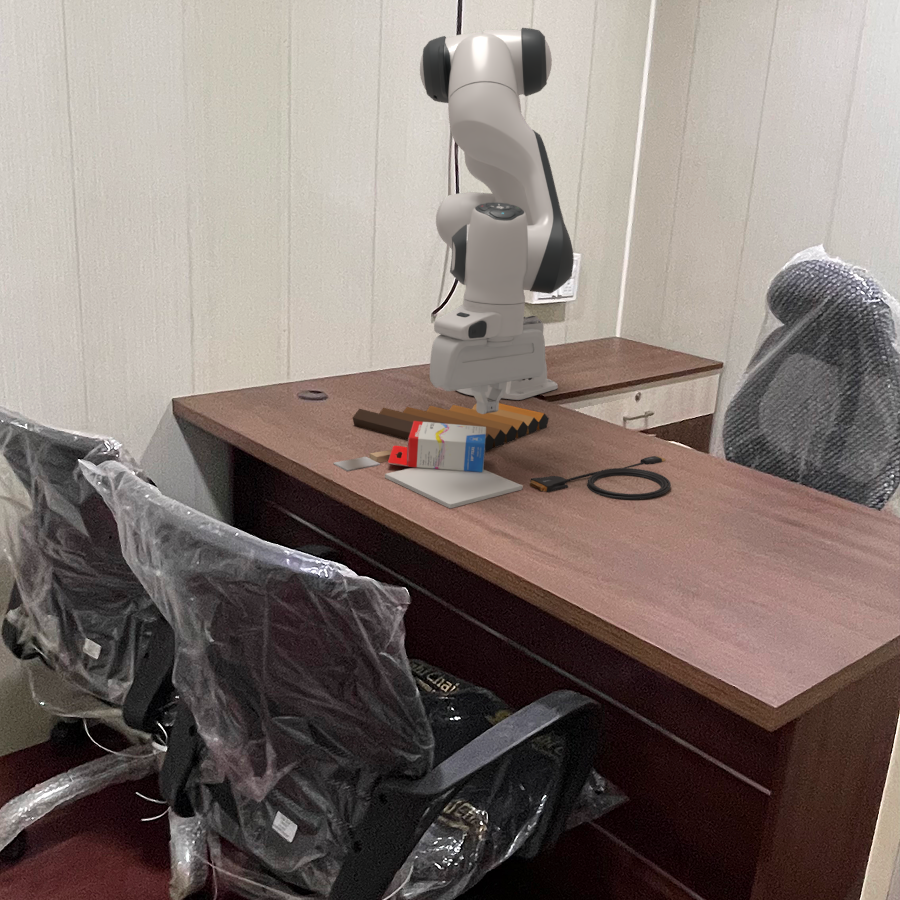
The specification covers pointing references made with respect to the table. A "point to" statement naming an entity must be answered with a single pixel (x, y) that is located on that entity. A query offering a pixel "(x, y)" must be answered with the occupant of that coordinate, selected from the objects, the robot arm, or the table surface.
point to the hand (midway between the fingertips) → (487, 412)
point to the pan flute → (456, 421)
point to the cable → (559, 482)
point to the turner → (366, 461)
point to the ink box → (442, 447)
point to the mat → (453, 485)
